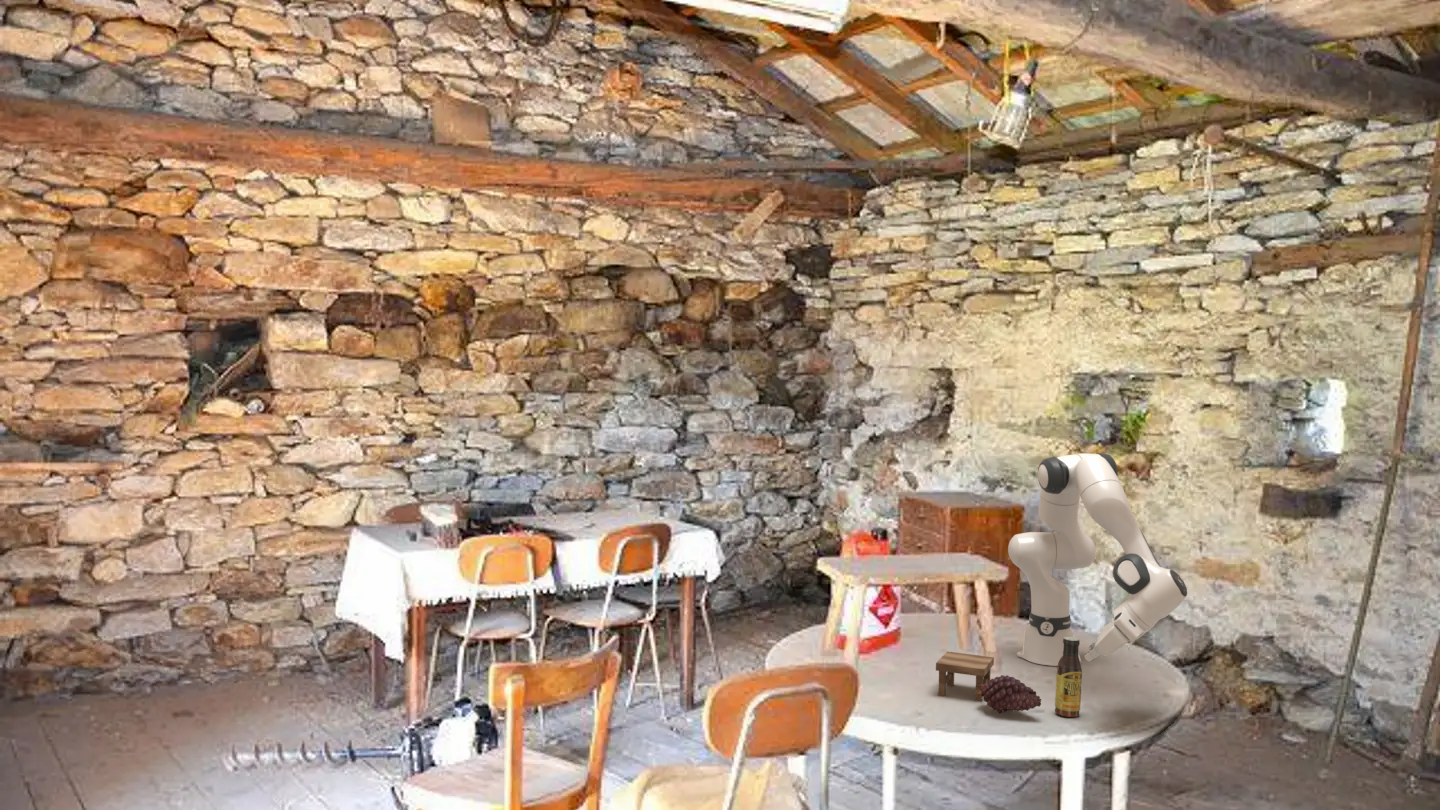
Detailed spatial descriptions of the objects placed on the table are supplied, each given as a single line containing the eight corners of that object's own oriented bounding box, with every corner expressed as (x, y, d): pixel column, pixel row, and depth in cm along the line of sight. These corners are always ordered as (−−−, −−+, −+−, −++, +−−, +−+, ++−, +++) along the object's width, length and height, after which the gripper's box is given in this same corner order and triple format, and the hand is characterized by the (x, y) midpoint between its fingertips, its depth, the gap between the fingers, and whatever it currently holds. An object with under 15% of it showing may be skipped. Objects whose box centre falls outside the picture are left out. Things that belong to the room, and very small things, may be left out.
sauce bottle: (1063, 719, 280) (1065, 642, 279) (1049, 711, 286) (1051, 636, 285) (1085, 717, 282) (1088, 640, 281) (1071, 709, 288) (1074, 634, 287)
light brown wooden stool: (946, 682, 310) (947, 651, 309) (993, 689, 304) (993, 657, 304) (935, 695, 298) (935, 663, 298) (983, 702, 293) (984, 669, 292)
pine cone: (1047, 717, 282) (1048, 678, 281) (1030, 726, 274) (1031, 687, 274) (984, 701, 293) (985, 665, 293) (966, 710, 286) (967, 673, 285)
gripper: (1124, 602, 287) (1084, 635, 292) (1117, 619, 268) (1074, 654, 273) (1142, 621, 285) (1101, 653, 290) (1136, 640, 267) (1093, 674, 271)
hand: (1088, 654), depth 281 cm, fingers open, 8 cm apart
